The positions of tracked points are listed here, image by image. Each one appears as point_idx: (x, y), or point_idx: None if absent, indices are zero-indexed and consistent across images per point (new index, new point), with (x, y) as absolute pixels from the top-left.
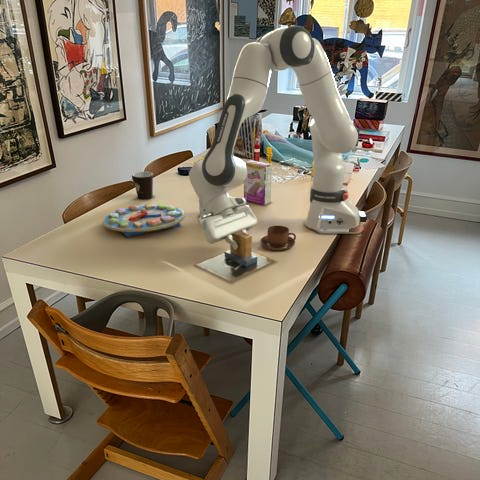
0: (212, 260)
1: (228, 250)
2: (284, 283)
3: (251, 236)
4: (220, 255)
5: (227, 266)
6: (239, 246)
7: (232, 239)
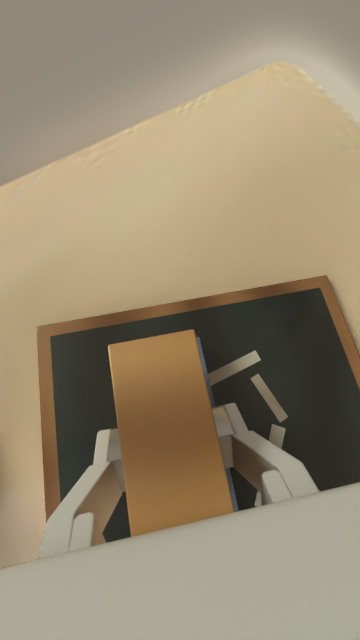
0: None
1: None
2: (142, 173)
3: (115, 345)
4: None
5: (275, 406)
6: None
7: (266, 457)
